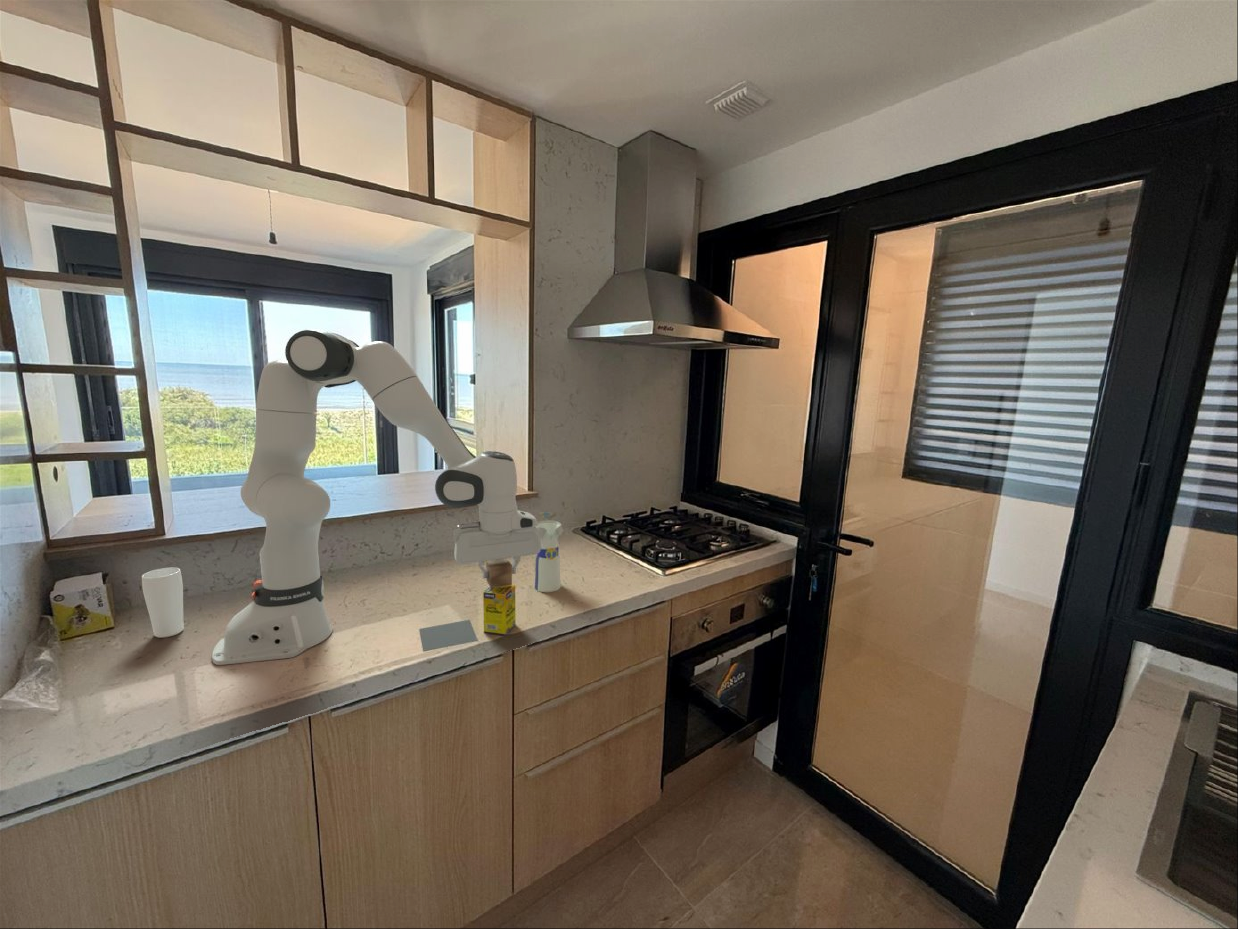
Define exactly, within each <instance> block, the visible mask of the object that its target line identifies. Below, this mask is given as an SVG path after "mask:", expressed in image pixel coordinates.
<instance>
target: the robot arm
mask: <svg viewBox="0 0 1238 929" xmlns="http://www.w3.org/2000/svg"><path fill="white" fill-rule="evenodd" d="M284 350H285V352H284V354H285V358H286V359H277V360H276V359H275V360H273V361H270V362H268V363H267V364H266V365H265V366H263V368H262V372H261V374H260V377H259V383H258V389H257V396H256V406H255V407H256V408H255V409H256V412H255V413H256V414H255V438H254V441H255V442H254V449H253V454H252V457H251V461H250V465H249V467H248V468H249V469H248V473H247V477H246V479H245V480H244V481H243V483H242V485H241V487H240V488H241V489H240V496H241V500H242V502H243V503H244V505H245V506H246V507H247V509H248V510H249V511H250V512H251V513H253V514H254V515H255V516H258V517H261V518H263V519H264V521H265V527H266V528H265V529H266V530H265V534H264V535H265V536H264V542H263V545H262V547H261V548H260V549H259V553H258V554H259V563H260V573H261V579H258V580H256V581H255V582H254V583H253V586H252V590H251V599H252V602H250V603H249V604H248V605H247V606H245V607H244V608H243V609H242V610H241V611H239V612H238V613H236V614H235V615H234V616H233V617H232V618H231V620H229V622H228V624H227V626H226V628H225V632H224V637H222V638H221V639H220V640H219V641H218V642H217V644H216V645H215V646H214V648H213V651H212V654H211V661H212V662H213V664H215V665H217V666H221V665H232V664H240V663H241V664H242V663H252V662H261V661H270V660H280V659H289V658H293V657H294V658H295V657H296V656H298V655H300V654H301V653H303V652H304V651H306V650H308V649H310V648H312V647H314V646H316V645H318V644H321V643H322V642H324V641H325V640H326V639H328V638H329V637H330V636H331V634H332V632H333V627H332V625H331V623H330V621H329V617H328V615H327V612H326V607H325V603H324V598H325V587H324V586H325V585H324V580H323V575H322V574H321V572H320V571H321V570H320V556H319V539H320V533H321V528H322V523H323V521H324V520H325V518H327V516H328V514H329V512H330V511H331V510H330V509H331V497H330V496H329V494H328V492H327V490H325V489H324V488H323V487H322V486H321V485H319V484H318V483H317V482H316V481H314V480H312V479H311V478H306V477H305V476H304V475H305V470H306V466H307V463H308V461H309V457H310V456H311V454H312V453H313V452H314V451H315V448H316V444H317V442H316V440H317V439H316V438H317V416H318V415H317V413H318V410H317V408H318V407H317V406H318V403H317V402H318V395H319V393H320V391H321V390H322V389H323V388H326V389H328V388H329V389H331V388H334V387H339V386H345V385H349V384H353V383H354V382H355V383H356V382H357V383H358V384H359V385H361V386H362V387H363V389H364V390H365V392H366V393H367V395H368V397H369V398H370V399H371V400H372V402H373V404H374V405H375V407H376V408H377V409H378V411H379V412H380V413H381V414H382V416H383V417H384V418H385V419H386V420H387V421H388V422H389V423H390V424H392V425H394V426H395V427H398V428H401V429H405V430H409V431H411V432H414V433H417V434H419V435H420V436H422V437H423V438H425V439H426V440H427V441H428V442H429V443H430V444H431V446H432V447H433V449H434V450H435V451H436V452H437V454H438V455H439V456H440V457H441V459H442V461H443V462H444V463H445V465H446V466H447V469H445V470H444V471H442V473H441V474H439V476H438V477H437V478H436V481H435V484H434V488H435V489H434V490H435V495H436V496H437V499H438V500H439V501H440V502H441V503H442V504H443V505H444V506H447V507H448V508H451V509H460V508H461V509H462V508H467V507H473V506H478V521H476V522H469V523H460V524H459V525H457V526H455V527H454V529H453V532H452V539H453V542H454V553H453V554H454V560H455V561H456V563H457V564H459V565H466V564H473V563H476V564H477V566H478V567H479V569H480V570H481V577H482V579H486V578H489V570H488V569H486V568H484V566H485V562H486V561H489V560H497V559H504V558H507V559H510V558H512V559H513V561H512V563H511V565H512V575H516V574H517V568H518V565H519V563H520V562H521V557H525V556H532V555H537V554H538V553H539V552H540V551H541V537H540V532H539V530H538V529H537V528H536V526H537V523H538V519H537V518H536V517H535V515H534V514H532V513H530V512H527V511H522V510H518V504H517V501H516V495H517V492H518V478H517V466H516V463H515V461H514V459H513V457H512V456H510V455H509V454H507V453H504V452H501V451H500V452H499V451H491V450H487V451H483V452H481V453H480V454H479V455H477V456H476V455H475V454H473V453H472V452H471V451H470V450H469V449H468V448H467V446H466V445H465V443H464V442H463V440H461V438H460V436H458V434H457V433H456V431H455V430H454V429H453V427H452V426H451V424H450V423H449V422H448V421H447V419H446V417H444V416H443V414H442V413H441V411H440V409H439V408H438V406H437V405H436V403H435V401H434V400H433V399H432V397H431V395H430V393H429V392H428V391H427V389H426V388H425V386H424V384H423V383H422V381H421V379H420V378H419V377H418V375H417V373H416V372H415V371H414V369H413V368H412V366H411V364H409V363H408V361H407V360H406V359H405V358H404V357H403V355H402V354H401V353H400V352H399V351H398V350H397V349H396V348H395V347H394V346H393V345H392V344H390V343H389V342H386V341H381V340H379V341H378V340H377V341H371V342H368V343H366V344H364V345H361V346H360V345H358V344H357V343H356V342H354V341H353V340H351V339H348V338H346V337H344V336H342V335H341V334H338V333H334V332H328V331H325V330H322V329H317V328H316V329H315V328H314V329H313V328H309V329H303V330H301V331H297V332H295V333H294V334H293V335H292V336H291V337H289V339H288V341H287V342H286V346H285V349H284Z"/></svg>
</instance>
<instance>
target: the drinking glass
mask: <svg viewBox="0 0 1238 929" xmlns="http://www.w3.org/2000/svg"><path fill="white" fill-rule="evenodd" d="M141 587H142V592H143V596H144V601H145V605H146V608H147V611H148V615H149V619H150V623H151V626H152V633H153V635H154V637H156V638H161V639H162V638H163V639H164V638H169V637H173V636H176V635H178V634H180V633H182V631H183V632H184V630H185V622H184V585H183V577H182V572H181V568H179V567H173V566H172V567H163V568H157V569H153V570H150V571H148V572H145V573H143V574H142V575H141Z"/></svg>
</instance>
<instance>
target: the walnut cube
mask: <svg viewBox="0 0 1238 929" xmlns="http://www.w3.org/2000/svg"><path fill="white" fill-rule="evenodd" d="M485 567H486V568H485V569H488V570H489V578H485V579H486V582H487V585H488V586H489V587H491V588H495V587H501V586H507V585H513V577H512V576H513V574H512V563H511V561H510V560H509V558H504V559H497V560H489V561H485Z"/></svg>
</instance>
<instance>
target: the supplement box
mask: <svg viewBox="0 0 1238 929" xmlns="http://www.w3.org/2000/svg"><path fill="white" fill-rule="evenodd" d="M482 596H483V600H482V602H483V634H488V635H495V636H503V637H507V635H508V634H509V633H510V632H511V630H513V628H514V627H515V626H516V585H515V584H512V585H507V586H501V587H495V588H491V587H490V586H489V587H488V588H487V589H486V590H484V591H483V592H482Z"/></svg>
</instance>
